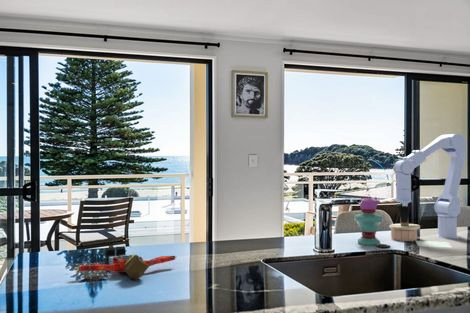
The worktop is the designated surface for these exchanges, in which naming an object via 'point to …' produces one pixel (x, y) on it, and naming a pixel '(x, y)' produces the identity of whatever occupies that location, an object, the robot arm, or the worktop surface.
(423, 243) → the mat
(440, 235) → the robot arm
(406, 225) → the lid
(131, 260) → the toy
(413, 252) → the worktop surface
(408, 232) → the bowl
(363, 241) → the toy
